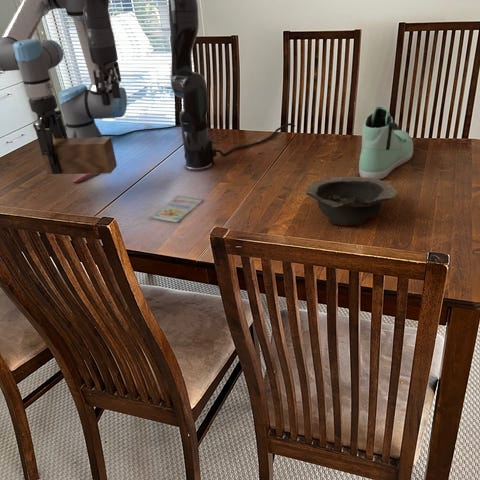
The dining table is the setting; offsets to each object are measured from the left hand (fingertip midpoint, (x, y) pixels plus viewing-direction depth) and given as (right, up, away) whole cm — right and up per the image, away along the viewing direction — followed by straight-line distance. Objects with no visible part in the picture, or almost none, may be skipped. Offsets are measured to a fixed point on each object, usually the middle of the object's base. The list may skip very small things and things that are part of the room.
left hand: (61, 169), depth 154 cm
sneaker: (+107, +4, +12) cm, 108 cm away
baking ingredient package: (+38, -14, -8) cm, 41 cm away
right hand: (+18, +19, -8) cm, 28 cm away
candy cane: (+2, +1, +21) cm, 21 cm away
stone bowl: (+88, -15, -16) cm, 91 cm away
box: (+7, 0, -1) cm, 7 cm away
